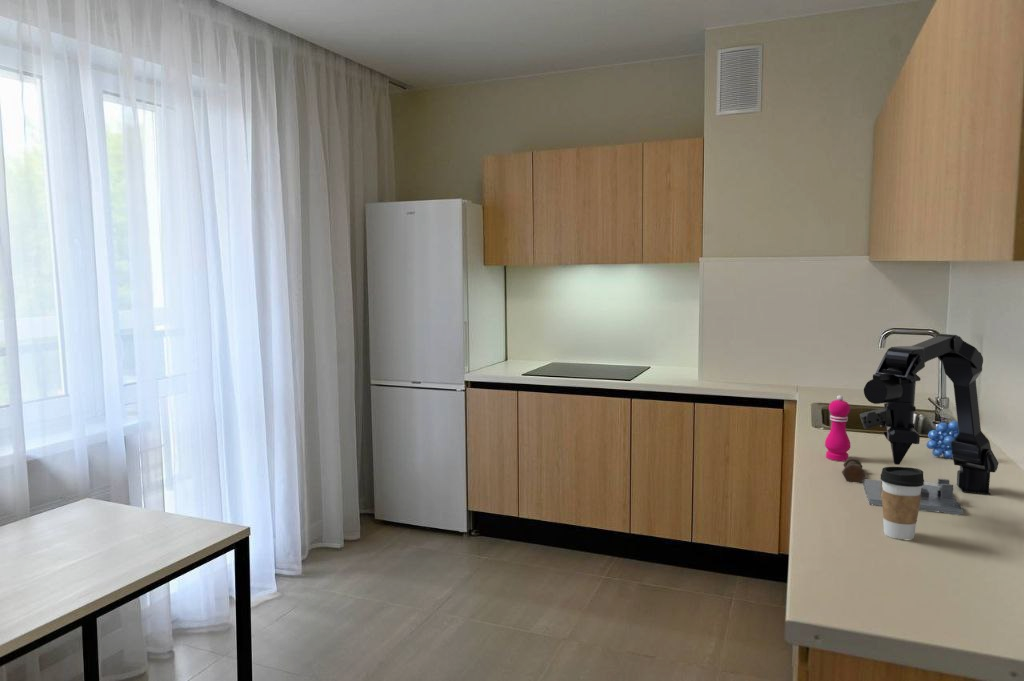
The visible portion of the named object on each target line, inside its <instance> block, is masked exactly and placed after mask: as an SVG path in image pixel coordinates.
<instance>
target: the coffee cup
mask: <svg viewBox="0 0 1024 681" xmlns="http://www.w3.org/2000/svg"><path fill="white" fill-rule="evenodd" d="M879 479H880V481H882V483H883V487H882V505H883V506H882V519H883V521H882V522H883V534H884V535H885V536H886V535H887V536H886V537H888V536H889V538H891V537H892V538H891V539H894V538H898V539H897V540H899V539H911V540H913V539H914V538H915V535H916V534H915V533H916V526H917V522H918V516H919V511H920V510H919V506H920V500H921V487H922V486H923V485H924V481H925V478H924V471H923V470H922V469H920V468H915V467H907V466H886V467H882V469H881V473H880V478H879Z"/></svg>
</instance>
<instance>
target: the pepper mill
mask: <svg viewBox="0 0 1024 681" xmlns="http://www.w3.org/2000/svg"><path fill="white" fill-rule="evenodd" d="M828 411H829V414H830V415H829V420H830V421H831V427H830V431H829V433H828V434H827V436H826V438H825V442H824V447H825V448H826V449H827V451H826V452H825V458H826V459H827V458H828V459H827V460H830V459H832V460H831V461H834V460H837V461H836V462H845V460H847V459H848V458H849V453H847V452H848V451H849V450H850V449H851V441H850V437H849V436H848V433H847V429H846V427H847V426H846V425H847V422H848V421H849V420H848V419H849V417H848V414H849V413H850V411H851V406H850V404H849V403H848V402H847V401H845V400H844V396H843V395H841V394H840V395H837V396H836V399H835V400H832V401H831V402H830V403H829V405H828Z"/></svg>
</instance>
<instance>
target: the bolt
mask: <svg viewBox="0 0 1024 681" xmlns="http://www.w3.org/2000/svg"><path fill="white" fill-rule="evenodd" d="M842 465H843V467H844V468H843V469H842V471H841V473H842V475H843V477H844V479H845V480H846V482H847V481H849V482H848V483H853V482H860V483H861V482H863V479H865V476H866V473H865V472H864V470H863V465H862V463H861V461H860V460H859V458H858V457H857V458H856V457H848V459H847V460H846V461H844V462H843V464H842Z"/></svg>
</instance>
